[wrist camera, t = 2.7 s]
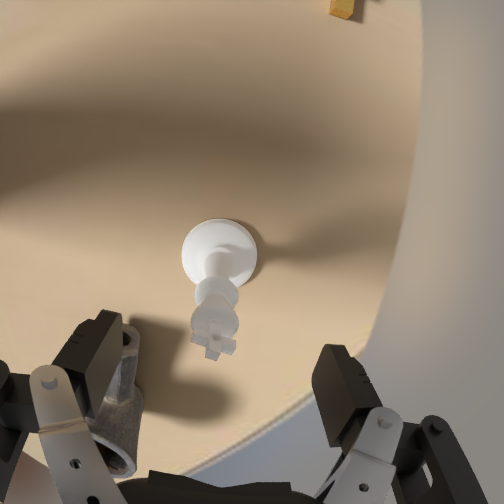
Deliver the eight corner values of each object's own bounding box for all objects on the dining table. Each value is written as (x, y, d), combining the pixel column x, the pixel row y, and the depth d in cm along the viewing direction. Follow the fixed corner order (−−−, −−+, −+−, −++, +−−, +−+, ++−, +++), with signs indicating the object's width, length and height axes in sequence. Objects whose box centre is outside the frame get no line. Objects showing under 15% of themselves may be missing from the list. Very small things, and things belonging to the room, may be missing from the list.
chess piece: (198, 206, 18) (167, 273, 9) (269, 236, 20) (305, 324, 10) (171, 273, 20) (134, 376, 11) (238, 298, 21) (247, 410, 12)
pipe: (164, 328, 21) (142, 407, 14) (148, 422, 25) (135, 487, 18) (90, 305, 20) (45, 372, 13) (92, 405, 24) (69, 465, 17)
